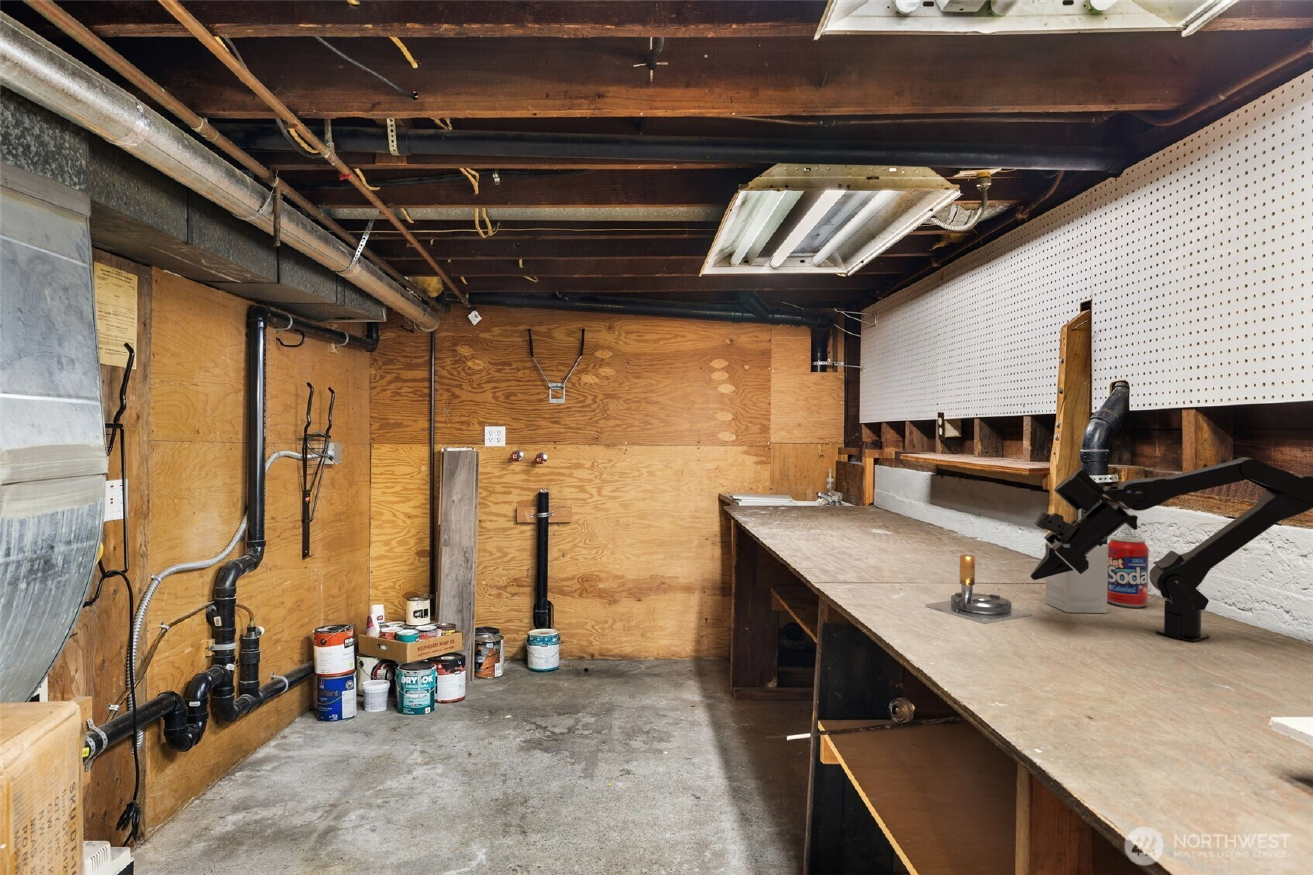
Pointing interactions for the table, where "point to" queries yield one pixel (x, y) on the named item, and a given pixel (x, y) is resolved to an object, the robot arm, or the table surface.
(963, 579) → the metal joystick
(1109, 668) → the table surface
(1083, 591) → the supplement box
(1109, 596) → the soda can
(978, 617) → the flange plate
